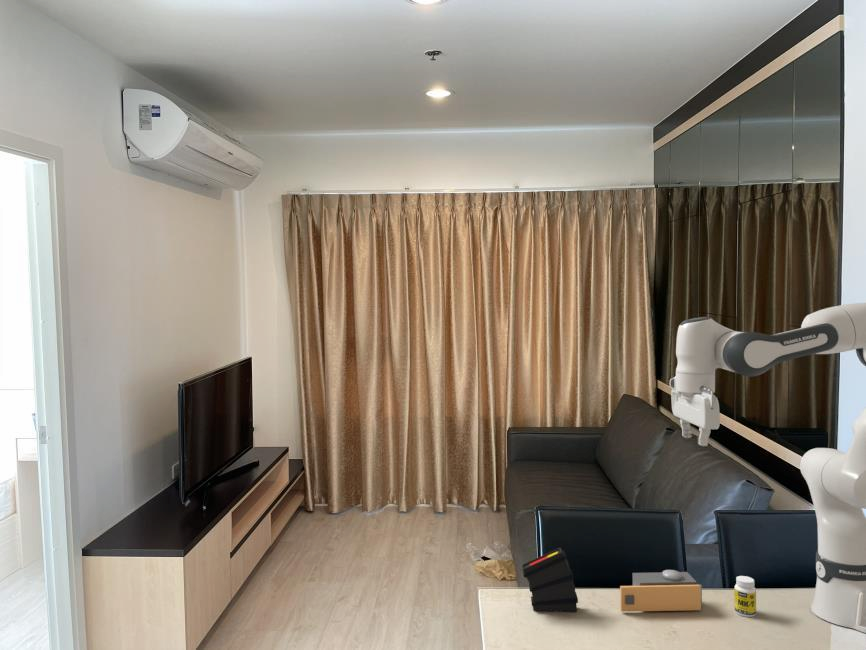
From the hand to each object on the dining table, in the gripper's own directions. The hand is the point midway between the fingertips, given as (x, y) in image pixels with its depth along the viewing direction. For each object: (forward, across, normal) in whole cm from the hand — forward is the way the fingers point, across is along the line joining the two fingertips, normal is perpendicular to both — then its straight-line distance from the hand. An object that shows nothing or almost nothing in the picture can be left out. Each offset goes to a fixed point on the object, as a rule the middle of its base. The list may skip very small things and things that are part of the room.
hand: (694, 441), depth 156 cm
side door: (+42, +1, +7) cm, 43 cm away
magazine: (+43, +4, +34) cm, 55 cm away
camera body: (+42, +5, +5) cm, 43 cm away
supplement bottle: (+42, 0, -13) cm, 44 cm away
